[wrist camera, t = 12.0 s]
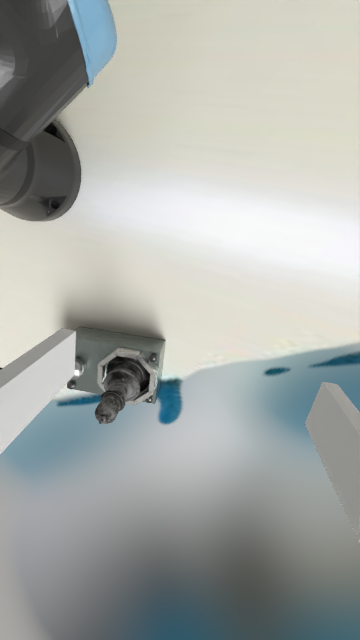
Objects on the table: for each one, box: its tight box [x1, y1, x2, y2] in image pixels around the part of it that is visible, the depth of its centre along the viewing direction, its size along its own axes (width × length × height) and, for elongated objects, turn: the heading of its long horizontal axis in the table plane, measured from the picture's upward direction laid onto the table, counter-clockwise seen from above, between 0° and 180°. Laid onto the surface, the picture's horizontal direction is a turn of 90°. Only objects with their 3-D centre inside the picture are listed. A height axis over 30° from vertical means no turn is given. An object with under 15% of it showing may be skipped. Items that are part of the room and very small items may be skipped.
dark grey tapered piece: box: [95, 361, 144, 424], centre depth 40 cm, size 6×6×12 cm
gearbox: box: [67, 327, 165, 405], centre depth 47 cm, size 16×10×7 cm, turn 83°
